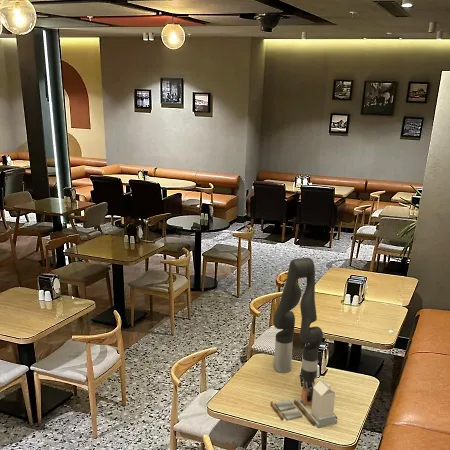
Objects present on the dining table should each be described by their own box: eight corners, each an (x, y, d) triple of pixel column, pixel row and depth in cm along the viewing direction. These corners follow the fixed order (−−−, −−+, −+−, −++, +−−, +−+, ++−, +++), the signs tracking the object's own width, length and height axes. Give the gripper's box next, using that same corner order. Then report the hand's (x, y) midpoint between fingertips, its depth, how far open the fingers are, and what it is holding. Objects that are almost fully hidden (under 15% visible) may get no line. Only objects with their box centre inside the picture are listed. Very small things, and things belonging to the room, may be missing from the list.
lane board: (270, 405, 230) (270, 402, 229) (314, 395, 238) (314, 392, 238) (290, 431, 212) (290, 427, 211) (336, 420, 220) (337, 416, 219)
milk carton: (319, 425, 216) (322, 387, 211) (311, 416, 222) (313, 379, 218) (332, 422, 219) (336, 384, 214) (324, 412, 225) (327, 376, 220)
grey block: (296, 402, 232) (297, 390, 230) (314, 399, 236) (315, 386, 234) (317, 427, 214) (318, 414, 213) (336, 423, 218) (337, 409, 216)
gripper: (295, 360, 233) (293, 392, 237) (310, 375, 220) (307, 408, 224) (308, 358, 236) (306, 389, 240) (324, 372, 223) (321, 405, 227)
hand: (307, 398), depth 232 cm, fingers closed on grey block, 3 cm apart
